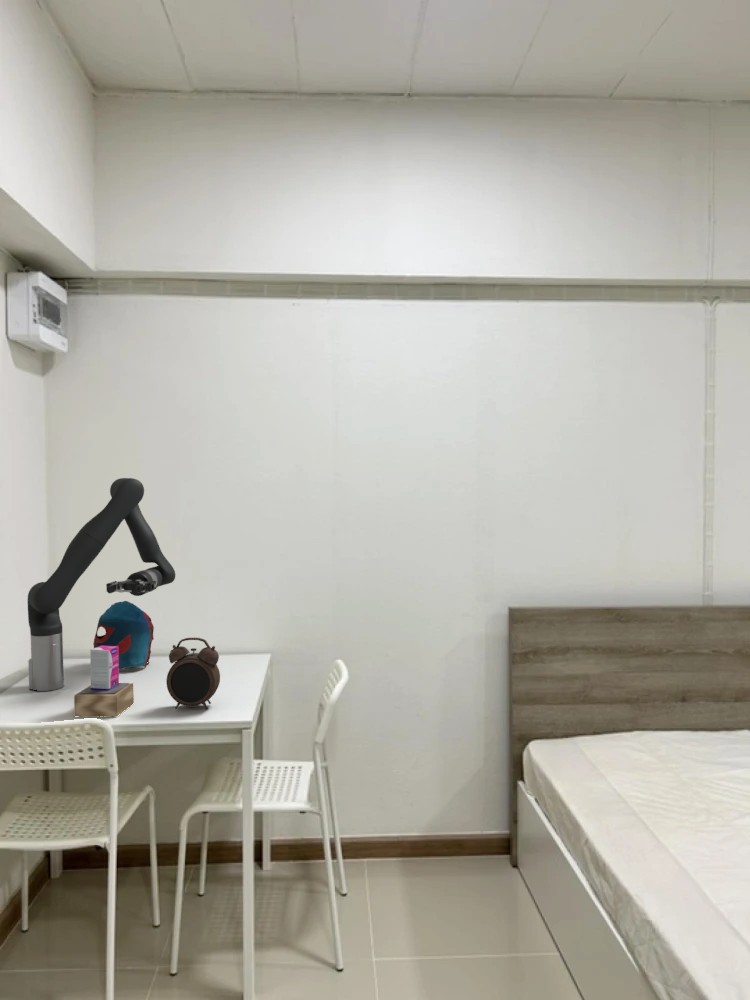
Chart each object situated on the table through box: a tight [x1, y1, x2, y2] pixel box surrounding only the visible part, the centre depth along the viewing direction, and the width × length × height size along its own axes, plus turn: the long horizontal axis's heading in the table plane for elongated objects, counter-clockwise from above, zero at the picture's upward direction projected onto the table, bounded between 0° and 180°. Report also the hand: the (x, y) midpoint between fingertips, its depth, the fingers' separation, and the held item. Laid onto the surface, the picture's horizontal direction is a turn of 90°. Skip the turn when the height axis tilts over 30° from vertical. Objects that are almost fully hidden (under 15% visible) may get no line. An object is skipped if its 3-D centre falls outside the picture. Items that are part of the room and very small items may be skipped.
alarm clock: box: [166, 637, 221, 710], centre depth 209 cm, size 14×7×20 cm, turn 87°
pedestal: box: [73, 682, 135, 718], centre depth 208 cm, size 12×12×6 cm
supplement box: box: [89, 646, 120, 691], centre depth 208 cm, size 6×6×12 cm
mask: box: [93, 600, 155, 670], centre depth 255 cm, size 18×20×25 cm
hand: (122, 589), depth 222 cm, fingers open, 8 cm apart
